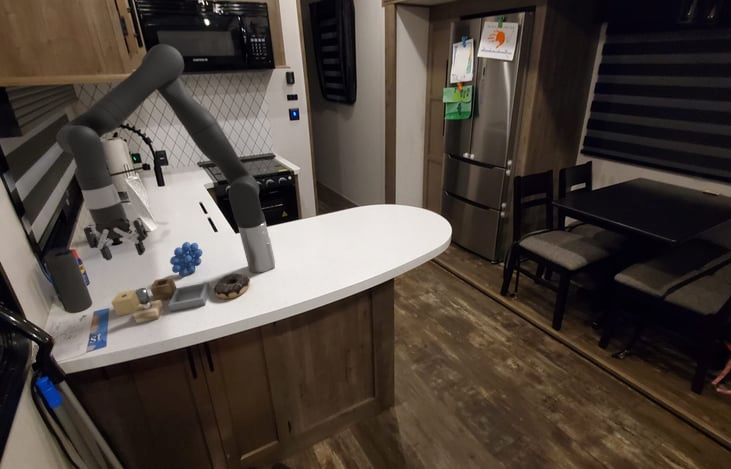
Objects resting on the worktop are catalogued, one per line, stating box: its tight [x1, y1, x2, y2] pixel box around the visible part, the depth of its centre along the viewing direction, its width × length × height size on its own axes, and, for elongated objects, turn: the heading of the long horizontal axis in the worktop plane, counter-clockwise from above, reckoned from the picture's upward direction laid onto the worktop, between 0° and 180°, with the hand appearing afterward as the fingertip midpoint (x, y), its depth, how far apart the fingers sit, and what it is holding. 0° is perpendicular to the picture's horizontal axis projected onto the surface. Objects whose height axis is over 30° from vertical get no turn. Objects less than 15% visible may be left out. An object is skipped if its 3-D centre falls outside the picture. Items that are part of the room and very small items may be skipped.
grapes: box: [169, 241, 203, 277], centre depth 134 cm, size 12×7×12 cm, turn 136°
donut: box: [213, 273, 251, 300], centre depth 122 cm, size 11×12×4 cm
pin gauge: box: [135, 287, 151, 310], centre depth 112 cm, size 3×3×9 cm
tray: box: [168, 282, 211, 313], centre depth 119 cm, size 10×10×2 cm
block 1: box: [111, 289, 140, 316], centre depth 117 cm, size 6×6×5 cm
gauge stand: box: [133, 300, 164, 324], centre depth 113 cm, size 6×6×3 cm
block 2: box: [149, 276, 177, 302], centre depth 122 cm, size 6×6×5 cm
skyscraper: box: [123, 172, 159, 232], centre depth 175 cm, size 8×8×28 cm
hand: (125, 256), depth 106 cm, fingers open, 8 cm apart
